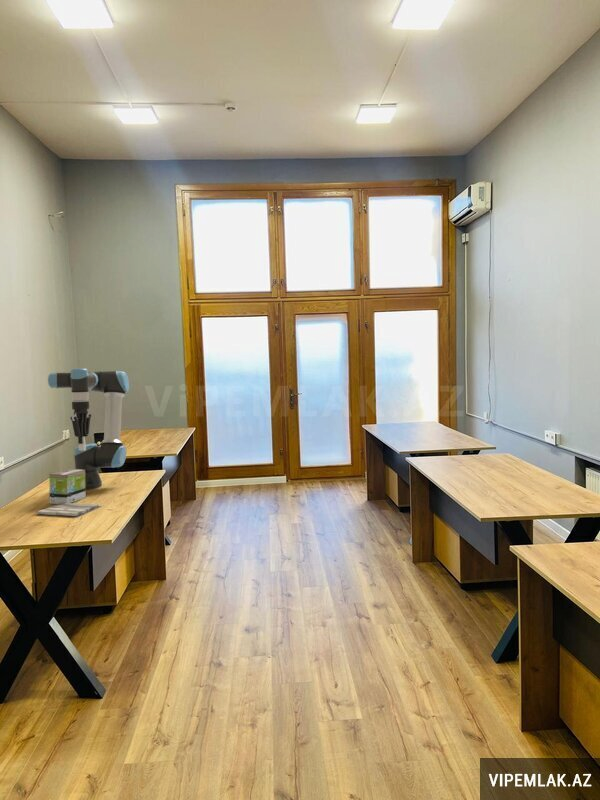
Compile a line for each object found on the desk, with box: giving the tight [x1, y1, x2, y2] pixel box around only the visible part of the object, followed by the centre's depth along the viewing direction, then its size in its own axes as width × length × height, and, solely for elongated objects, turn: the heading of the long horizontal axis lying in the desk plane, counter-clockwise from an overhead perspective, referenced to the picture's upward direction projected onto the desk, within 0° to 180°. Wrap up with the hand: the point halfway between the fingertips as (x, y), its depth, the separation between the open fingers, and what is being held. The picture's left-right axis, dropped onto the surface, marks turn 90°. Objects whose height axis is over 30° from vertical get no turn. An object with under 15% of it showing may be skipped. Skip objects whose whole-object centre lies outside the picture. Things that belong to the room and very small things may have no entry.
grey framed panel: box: [35, 505, 103, 519], centre depth 244 cm, size 19×22×1 cm
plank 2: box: [57, 508, 87, 516], centre depth 238 cm, size 8×10×1 cm
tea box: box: [49, 468, 86, 505], centre depth 261 cm, size 15×10×15 cm, turn 168°
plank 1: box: [36, 506, 68, 515], centre depth 240 cm, size 8×10×1 cm
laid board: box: [50, 502, 99, 513], centre depth 247 cm, size 8×20×1 cm, turn 77°
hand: (82, 450), depth 253 cm, fingers closed
